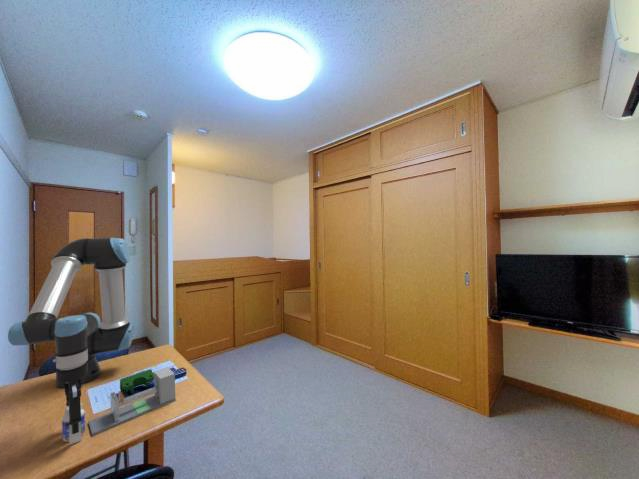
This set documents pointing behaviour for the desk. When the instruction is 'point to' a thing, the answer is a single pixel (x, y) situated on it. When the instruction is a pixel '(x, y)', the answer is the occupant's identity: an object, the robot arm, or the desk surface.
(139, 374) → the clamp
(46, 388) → the desk surface
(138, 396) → the plunger
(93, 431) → the base
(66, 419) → the pill bottle
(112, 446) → the desk surface
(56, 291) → the robot arm
